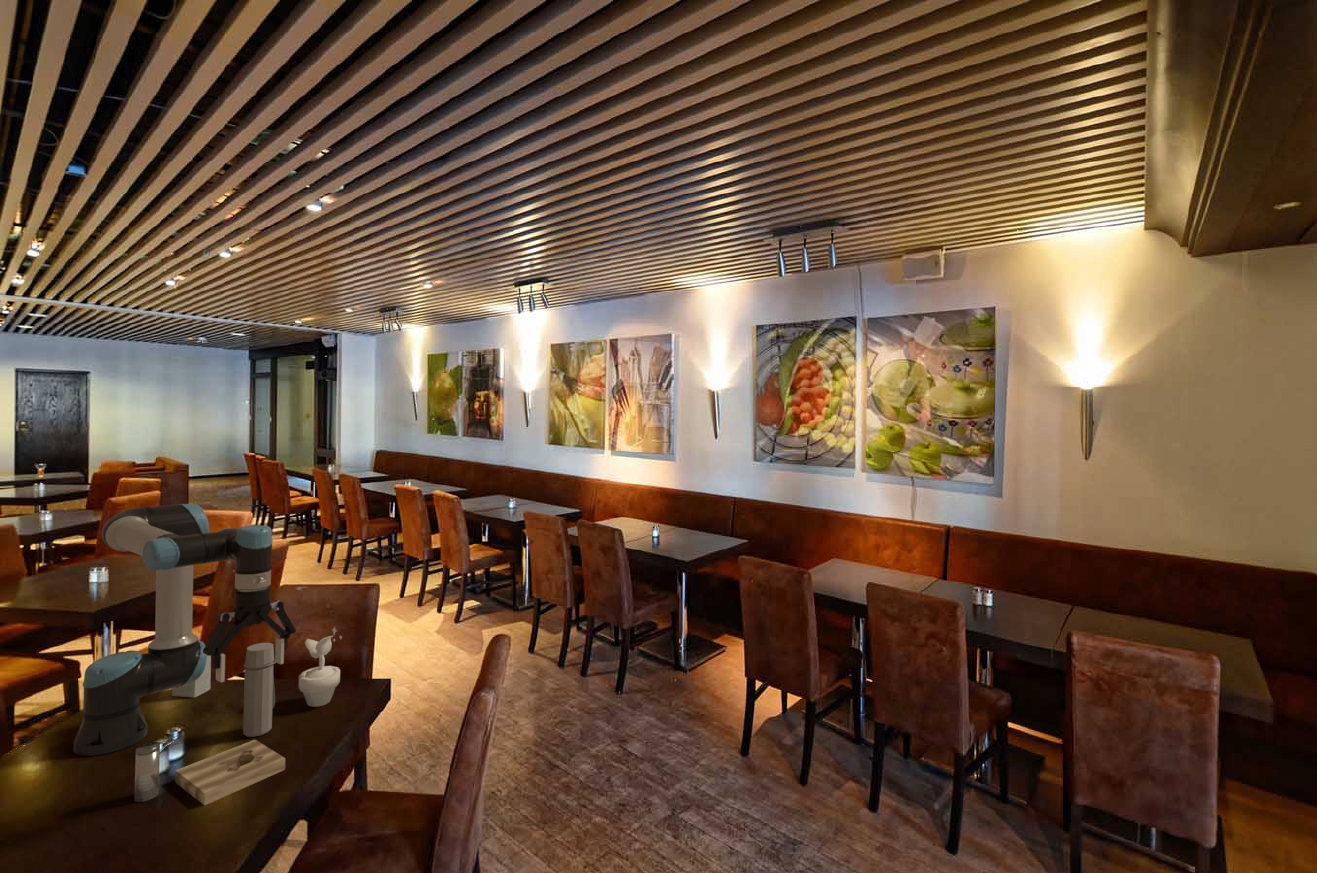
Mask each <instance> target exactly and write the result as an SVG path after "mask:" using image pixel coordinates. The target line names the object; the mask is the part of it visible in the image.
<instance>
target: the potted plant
mask: <svg viewBox="0 0 1317 873" xmlns="http://www.w3.org/2000/svg"><path fill="white" fill-rule="evenodd" d="M331 630H332V633H333V635H330V636H326V637H323V638H321V639H320V640H319V641H317V640H314V639H309V638H306V640H305V641H304V645H305V647H306V648H307V650H308V652H309V654H310V657H312V658H314V659H317V658H319V660H318V662H319V663H318V666H316V667H311V668H308V669H306V670H304V671H302V672H301V673H300V674H299V675H298V689H299V691H300V692H301V693H303V696H304V699H305V702H306V705H307V706H309V707H311V708H319V707H321V706H322V707H323V706H325V705H327V704H329V703H330V702H331V700H332V698H333V695H334V693H335V690H336V687H337V686H338V685H339V684H340V682H341V669H340V667H337V666H333V665H325V662H326V661H325V658H326V657H325V656H326V655H328V653H329V652H330V651H331V650H332V645H333V644H332V641H333V643H335V642H336V639H335V637H334V635H335V634H336V632H337V629H336V626H335V625H333V629H331ZM333 637H334V638H333ZM332 638H333V639H332ZM342 638H343V636H342V635H340V636H339V640H342Z"/></svg>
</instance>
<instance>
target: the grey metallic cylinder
mask: <svg viewBox="0 0 1317 873" xmlns="http://www.w3.org/2000/svg"><path fill="white" fill-rule="evenodd" d="M160 743H161V742H159V741H150V742H144V743H142V744H140V745H138V746H137V747H136V748H135V766H134V769H135V770H134V774H135V775H134V802H140V803H141V802H148V801H149V800H152V799H154V798H156V797H157V796H158V795H159V794H160V792H159V791H160V754H161V753H160V752H161V744H160Z"/></svg>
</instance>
